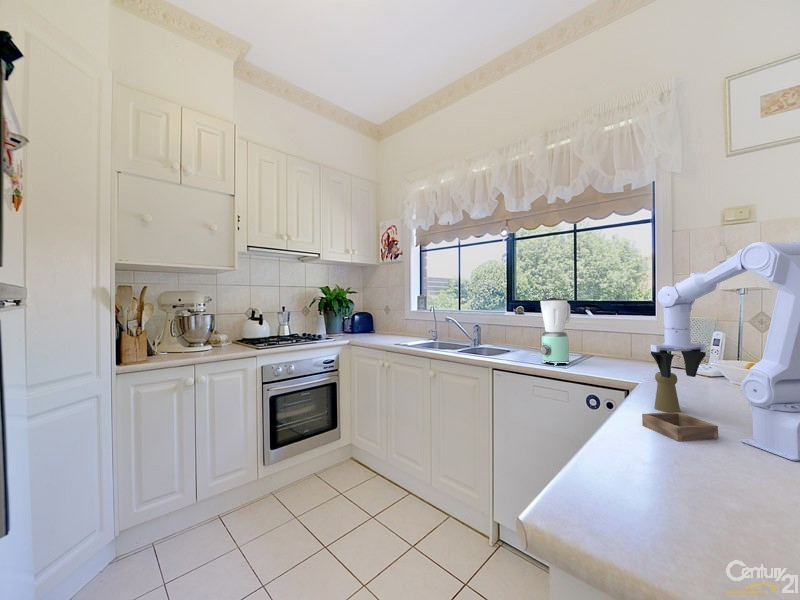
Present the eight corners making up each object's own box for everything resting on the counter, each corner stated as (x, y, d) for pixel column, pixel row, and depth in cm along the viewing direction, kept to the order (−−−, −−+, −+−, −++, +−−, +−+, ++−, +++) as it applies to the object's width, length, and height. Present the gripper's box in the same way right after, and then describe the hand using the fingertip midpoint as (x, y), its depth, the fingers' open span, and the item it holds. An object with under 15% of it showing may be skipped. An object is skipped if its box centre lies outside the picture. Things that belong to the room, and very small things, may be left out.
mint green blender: (553, 367, 165) (551, 297, 166) (533, 363, 177) (531, 298, 178) (580, 364, 172) (578, 297, 173) (559, 360, 184) (557, 298, 185)
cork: (685, 413, 94) (684, 374, 94) (661, 412, 95) (660, 374, 95) (672, 406, 99) (671, 370, 100) (650, 406, 101) (648, 370, 101)
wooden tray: (718, 439, 76) (717, 426, 76) (677, 441, 75) (677, 427, 75) (678, 423, 86) (678, 412, 86) (642, 425, 85) (642, 413, 85)
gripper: (687, 327, 98) (689, 372, 98) (641, 328, 97) (642, 374, 97) (711, 328, 91) (713, 378, 91) (662, 330, 90) (663, 380, 90)
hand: (678, 376), depth 93 cm, fingers open, 7 cm apart
